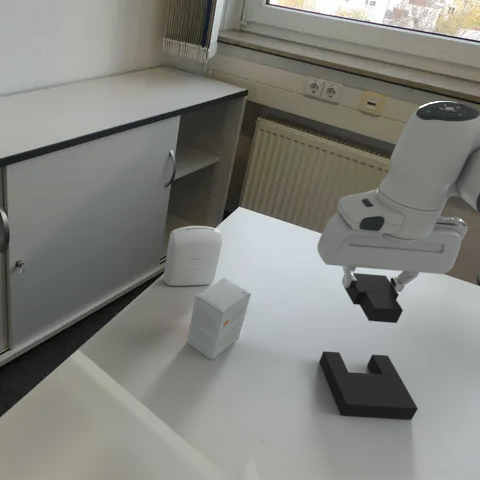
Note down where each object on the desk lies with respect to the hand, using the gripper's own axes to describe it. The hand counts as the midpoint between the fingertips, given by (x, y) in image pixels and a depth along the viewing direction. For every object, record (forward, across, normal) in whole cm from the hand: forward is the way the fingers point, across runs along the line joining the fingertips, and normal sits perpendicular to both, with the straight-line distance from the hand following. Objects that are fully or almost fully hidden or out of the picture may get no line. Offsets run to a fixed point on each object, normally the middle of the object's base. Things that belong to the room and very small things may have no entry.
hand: (370, 287), depth 86 cm
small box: (+14, +23, 0) cm, 27 cm away
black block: (+2, 0, +2) cm, 3 cm away
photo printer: (+14, +26, -17) cm, 34 cm away
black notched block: (+14, 0, +9) cm, 16 cm away
